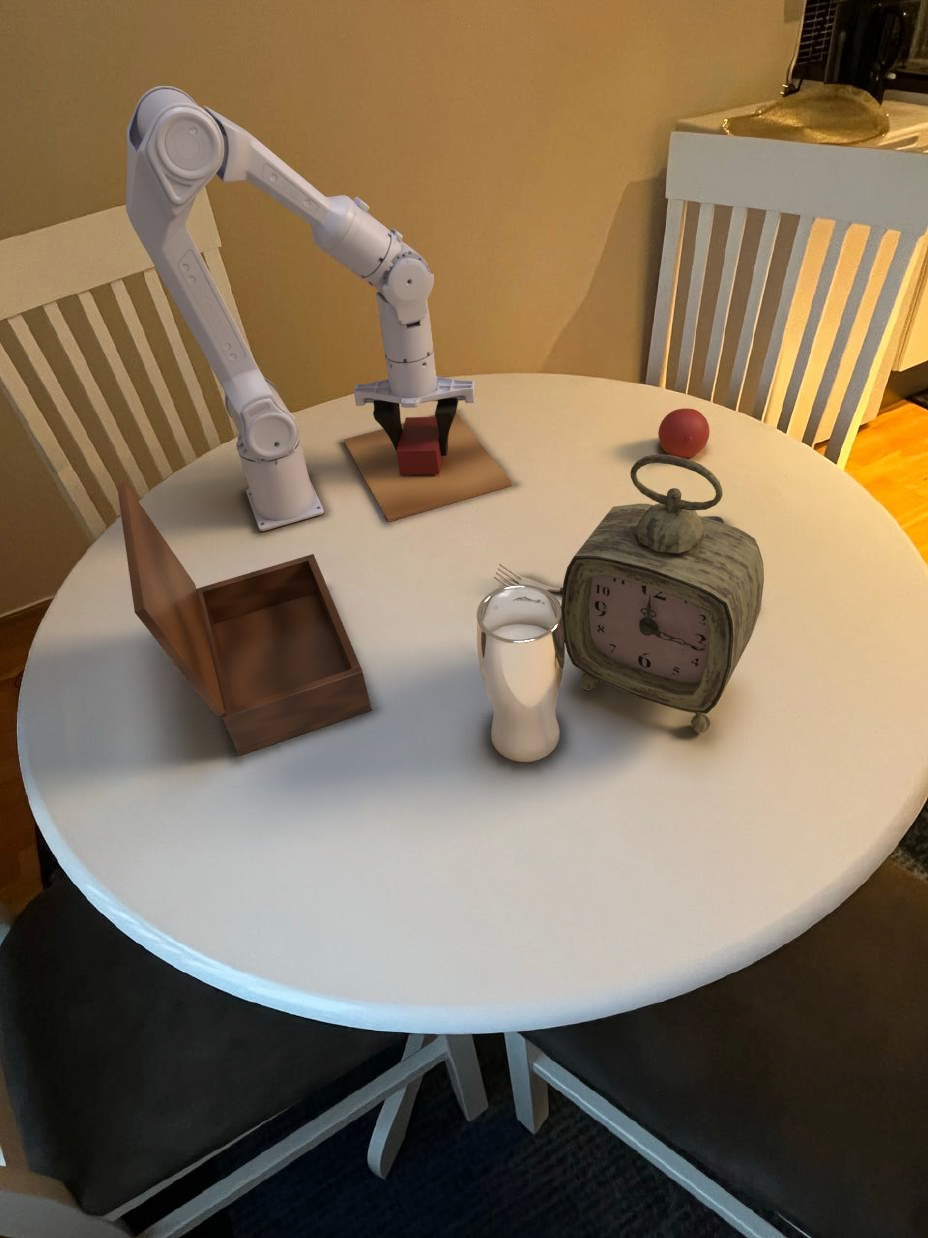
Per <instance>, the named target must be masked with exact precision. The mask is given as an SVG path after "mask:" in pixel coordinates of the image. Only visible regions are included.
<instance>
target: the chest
mask: <svg viewBox="0 0 928 1238" xmlns="http://www.w3.org/2000/svg"><path fill="white" fill-rule="evenodd" d="M196 590H197V594H198V598H199V603H200V607H201V611H202V616H203V620H204V624H205V628H206V633H207V637H208V641H209V646H210V650H211V654H212V659H213V663H214V667H215V672H216V676H217V680H218V685H219V689H220V693H221V698H222V702H223V706H224V711H225V713H224V714H221V718H222V720H223V723H224V725H225V727H226V730H227V732H228V735H229V736H230V739H231V741H232V744H233V746H234V748H235V750H236V752H237V755H238V757H240V756H243V755H246V754H248V753H252V752H255V751H257V750H260V749H263V748H266V747H270V746H272V745H275V744H278V743H280V742H283V741H287V740H289V739H292V738H295V737H298V736H300V735H304V734H307V733H310V732H313V731H315V730H319V729H321V728H324V727H327V726H329V725H330V726H331V725H332V724H336V723H339V722H341V721H345V720H348V719H350V718H353V717H356V716H359V715H362V714H365V713H367V712H370V711H372V710H373V708H372V704H371V700H370V696H369V692H368V688H367V684H366V680H365V675H364V671H363V669H362V667H361V664H360V662H359V659H358V657H357V655H356V653H355V650H354V647H353V645H352V643H351V640H350V638H349V635H348V632H347V631H346V628H345V626H344V623H343V621H342V619H341V616H340V614H339V611H338V609H337V607H336V604H335V602H334V599H333V597H332V595H331V594H332V593H331V592H330V590H329V587H328V585H327V583H326V580H325V578H324V575H323V573H322V570H321V569H320V566H319V563H318V561H317V558H316V556H315V554H314V553H311V554H309V555H305V556H301V557H298V558H295V559H292V560H288V561H284V562H281V563H278V564H274V565H271V566H268V567H265V568H262V569H258V570H254V571H251V572H248V573H245V574H241V575H237V576H234V577H231V578H227V579H224V580H221V581H217V582H213V583H211V584H207V585H204V586H201V587H196Z"/></svg>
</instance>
